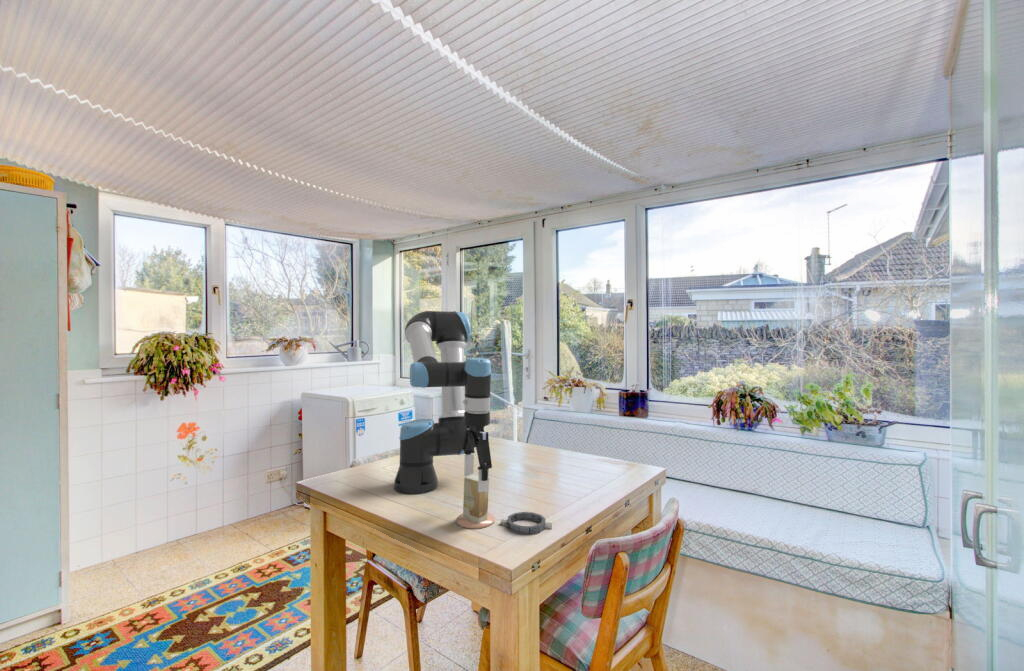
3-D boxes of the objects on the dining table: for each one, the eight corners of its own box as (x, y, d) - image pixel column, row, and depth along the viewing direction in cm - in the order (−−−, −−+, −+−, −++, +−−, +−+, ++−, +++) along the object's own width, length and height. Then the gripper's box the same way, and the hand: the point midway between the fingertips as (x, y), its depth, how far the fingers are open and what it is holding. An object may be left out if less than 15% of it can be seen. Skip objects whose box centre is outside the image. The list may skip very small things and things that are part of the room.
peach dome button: (452, 527, 127) (452, 525, 127) (461, 512, 138) (461, 510, 138) (490, 530, 126) (490, 528, 126) (497, 514, 137) (497, 512, 137)
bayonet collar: (498, 532, 125) (498, 525, 125) (503, 516, 135) (503, 510, 135) (550, 535, 123) (551, 529, 123) (552, 519, 133) (552, 513, 133)
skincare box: (462, 518, 132) (462, 476, 132) (472, 513, 135) (472, 473, 135) (479, 524, 128) (479, 481, 128) (488, 519, 132) (489, 477, 132)
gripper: (453, 404, 142) (452, 471, 143) (478, 420, 119) (476, 500, 119) (476, 403, 145) (475, 468, 145) (504, 419, 122) (502, 496, 122)
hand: (475, 483), depth 132 cm, fingers open, 13 cm apart
